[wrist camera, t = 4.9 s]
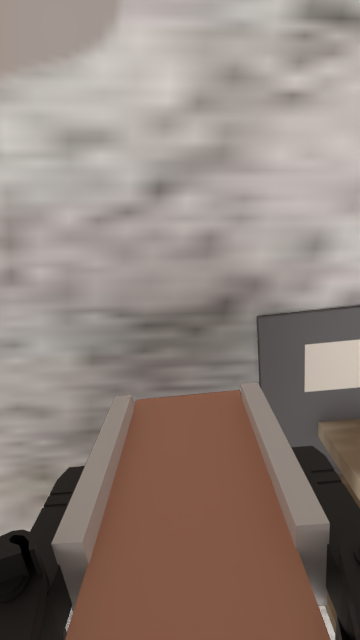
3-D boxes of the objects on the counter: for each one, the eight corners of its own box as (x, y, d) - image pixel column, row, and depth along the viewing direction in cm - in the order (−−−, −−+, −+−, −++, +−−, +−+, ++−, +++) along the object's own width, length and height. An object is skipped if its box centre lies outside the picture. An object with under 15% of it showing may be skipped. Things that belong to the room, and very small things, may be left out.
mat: (268, 588, 27) (269, 594, 26) (257, 316, 19) (258, 318, 19) (402, 582, 26) (405, 587, 25) (445, 296, 18) (450, 298, 18)
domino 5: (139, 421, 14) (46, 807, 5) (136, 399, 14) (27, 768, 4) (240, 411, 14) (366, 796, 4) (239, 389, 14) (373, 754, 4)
